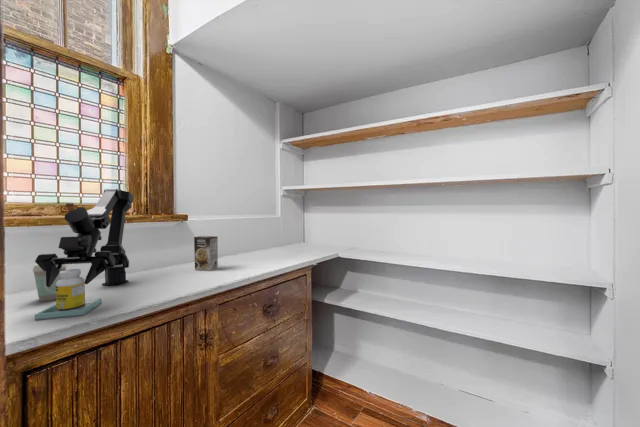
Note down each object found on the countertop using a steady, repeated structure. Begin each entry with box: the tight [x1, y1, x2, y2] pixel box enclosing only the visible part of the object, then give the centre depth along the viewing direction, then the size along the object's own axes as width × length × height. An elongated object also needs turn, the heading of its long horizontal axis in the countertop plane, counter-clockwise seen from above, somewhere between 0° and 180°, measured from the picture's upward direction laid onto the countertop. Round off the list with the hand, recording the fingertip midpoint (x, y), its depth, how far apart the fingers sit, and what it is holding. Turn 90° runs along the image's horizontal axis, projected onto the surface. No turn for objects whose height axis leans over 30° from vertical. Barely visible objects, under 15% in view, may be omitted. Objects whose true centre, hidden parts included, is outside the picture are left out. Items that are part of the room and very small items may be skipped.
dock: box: [34, 297, 102, 321], centre depth 84 cm, size 11×11×2 cm
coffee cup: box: [32, 263, 68, 302], centre depth 96 cm, size 9×8×12 cm
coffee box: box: [193, 235, 219, 272], centre depth 138 cm, size 9×6×16 cm
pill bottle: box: [55, 268, 86, 312], centre depth 84 cm, size 6×6×12 cm
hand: (67, 285), depth 82 cm, fingers open, 9 cm apart
